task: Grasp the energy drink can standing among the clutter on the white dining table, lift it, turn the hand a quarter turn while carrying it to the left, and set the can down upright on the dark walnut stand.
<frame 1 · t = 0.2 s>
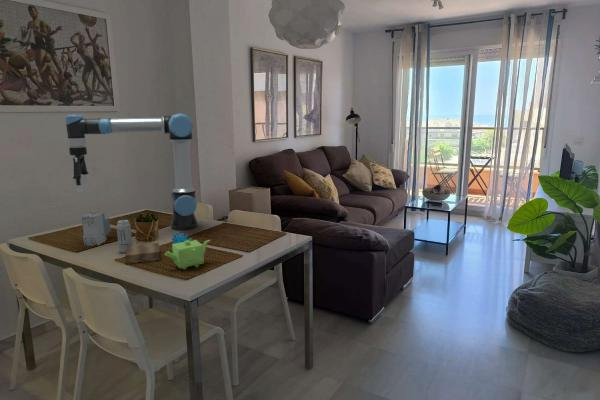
hand: (82, 189, 205), 28 cm above the table, tool pointing down, fingers open, 13 cm apart
gear: (182, 248, 200), on the table
circuit breaker: (99, 241, 213), on the table
kettle: (190, 266, 177), on the table
energy drink can: (126, 251, 196), on the table
stand: (143, 257, 188), on the table
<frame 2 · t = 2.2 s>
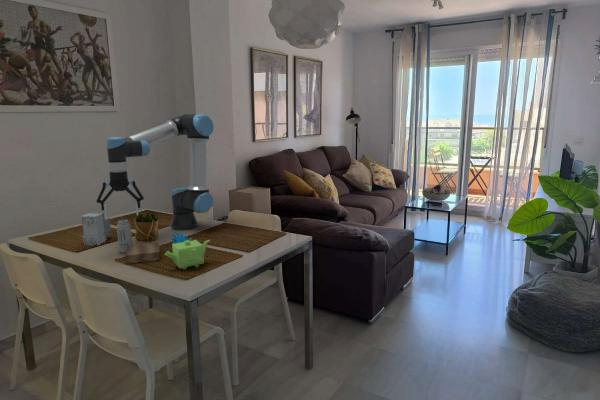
hand: (122, 216, 192), 18 cm above the table, tool pointing down, fingers open, 13 cm apart
nothing on the table moved.
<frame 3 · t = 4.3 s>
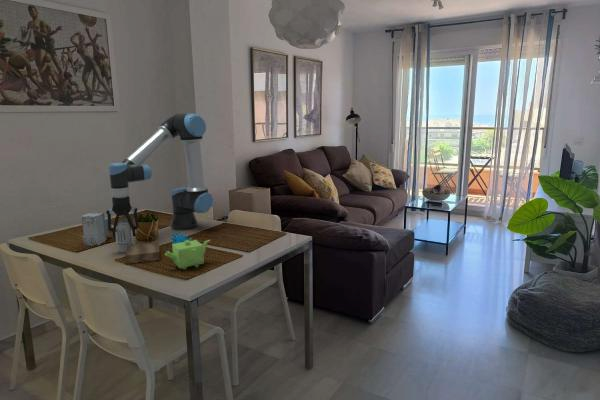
hand: (125, 243, 195), 4 cm above the table, tool pointing down, fingers closed on energy drink can, 6 cm apart
energy drink can: (126, 251, 196), on the table, touching gripper
everything else where it was.
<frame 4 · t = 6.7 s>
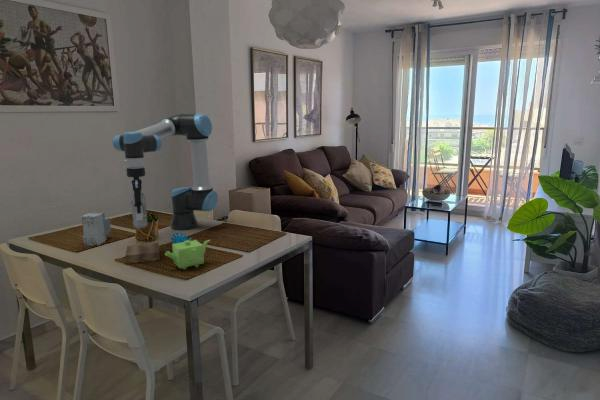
hand: (139, 218, 184), 18 cm above the table, tool pointing down, fingers closed on energy drink can, 6 cm apart
energy drink can: (140, 227, 185), point 14 cm above the table, touching gripper
everything else where it was.
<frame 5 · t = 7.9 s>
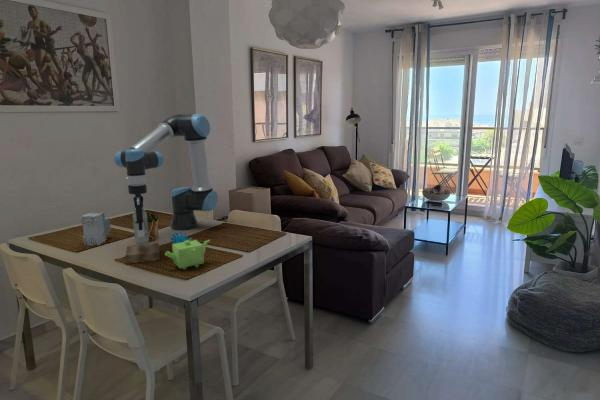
hand: (141, 234, 185), 11 cm above the table, tool pointing down, fingers closed on energy drink can, 6 cm apart
energy drink can: (142, 243, 186), point 7 cm above the table, touching gripper
everything else where it was.
when the fingers open (9 cm above the table, at t = 9.0 s): energy drink can drops 1 cm, resting on stand.
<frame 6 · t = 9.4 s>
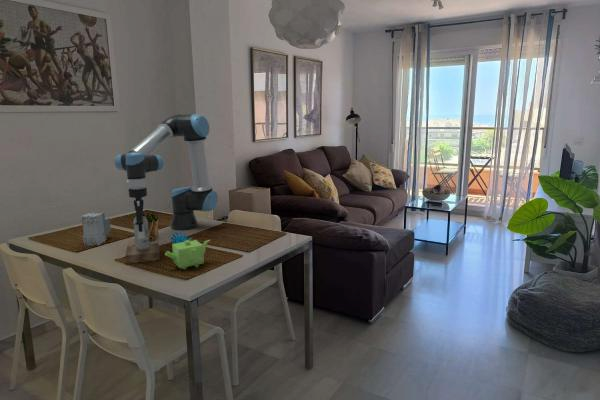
hand: (141, 234, 185), 11 cm above the table, tool pointing down, fingers open, 12 cm apart
energy drink can: (143, 249, 187), point 4 cm above the table, touching stand
everything else where it was.
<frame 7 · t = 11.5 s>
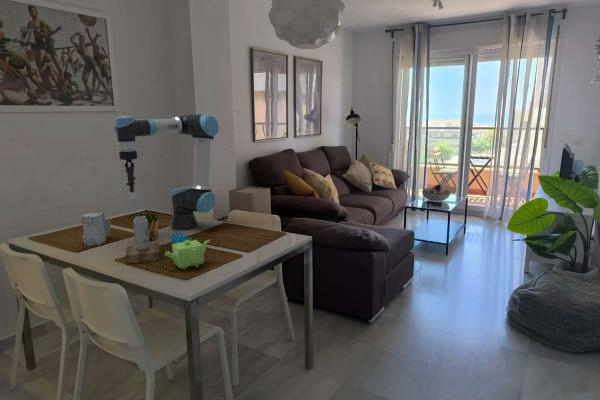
hand: (132, 196, 191), 27 cm above the table, tool pointing down, fingers open, 13 cm apart
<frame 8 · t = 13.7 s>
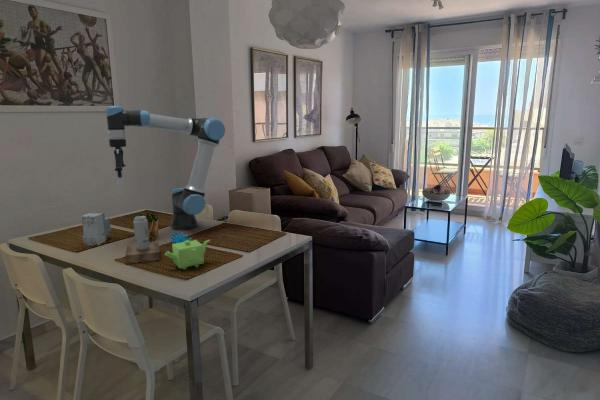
hand: (121, 181, 202), 32 cm above the table, tool pointing down, fingers open, 13 cm apart
at the end: energy drink can touching stand; energy drink can tilted 0° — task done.
